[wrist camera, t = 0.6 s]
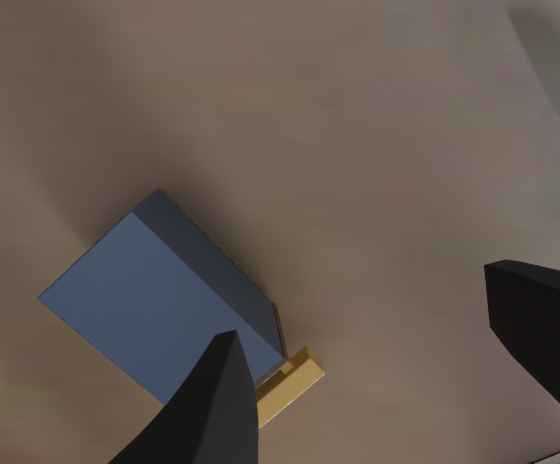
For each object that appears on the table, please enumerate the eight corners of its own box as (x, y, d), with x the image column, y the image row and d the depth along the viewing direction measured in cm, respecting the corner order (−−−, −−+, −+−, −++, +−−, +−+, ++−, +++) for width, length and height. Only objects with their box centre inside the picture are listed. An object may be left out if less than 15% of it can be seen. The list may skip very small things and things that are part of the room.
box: (312, 337, 24) (335, 399, 18) (240, 398, 24) (242, 477, 19) (162, 184, 21) (136, 205, 15) (83, 257, 21) (31, 303, 16)
